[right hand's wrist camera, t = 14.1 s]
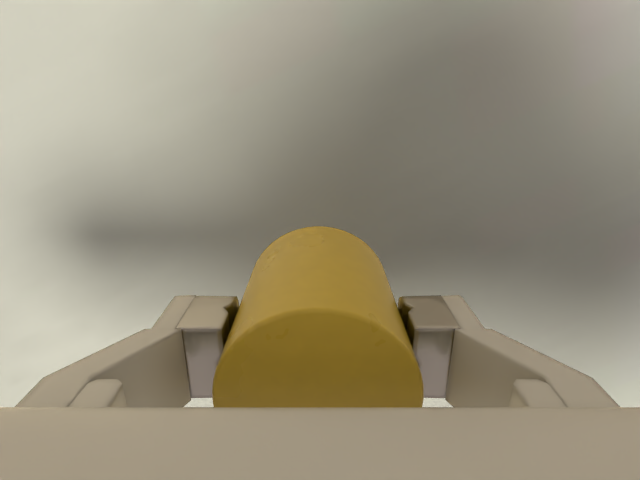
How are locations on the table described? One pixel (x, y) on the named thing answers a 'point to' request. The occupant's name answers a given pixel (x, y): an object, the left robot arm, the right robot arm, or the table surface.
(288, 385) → the cylinder
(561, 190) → the table surface
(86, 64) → the table surface
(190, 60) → the table surface
